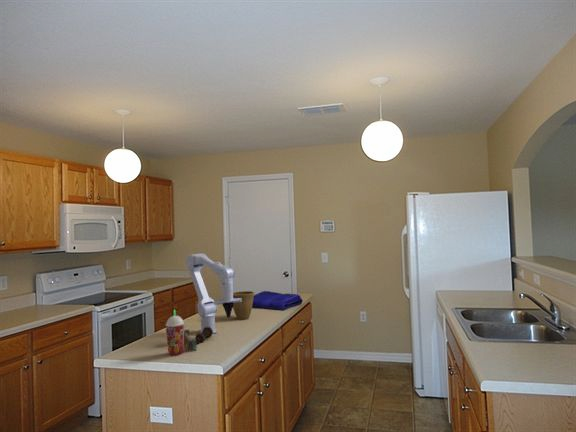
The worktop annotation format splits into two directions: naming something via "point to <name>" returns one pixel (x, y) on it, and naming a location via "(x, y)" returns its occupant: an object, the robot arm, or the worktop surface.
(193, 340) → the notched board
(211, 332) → the bolt
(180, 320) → the smoothie
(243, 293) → the plant pot
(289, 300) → the towel
